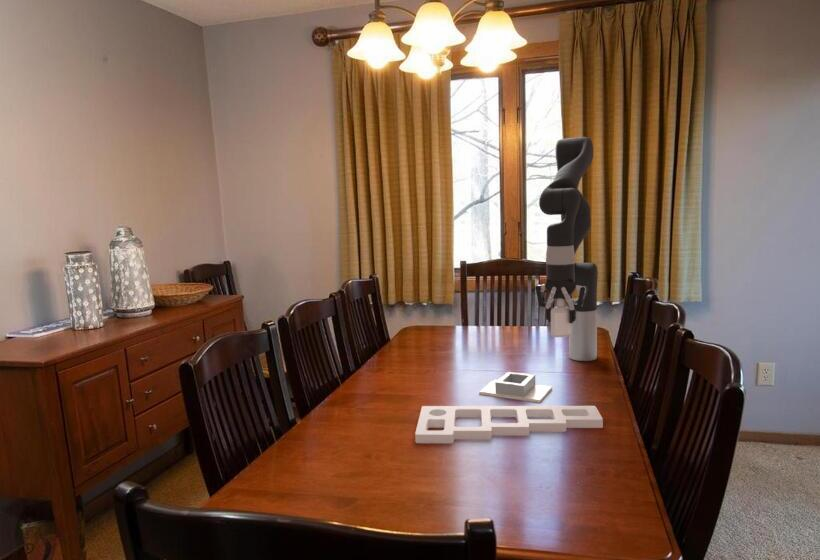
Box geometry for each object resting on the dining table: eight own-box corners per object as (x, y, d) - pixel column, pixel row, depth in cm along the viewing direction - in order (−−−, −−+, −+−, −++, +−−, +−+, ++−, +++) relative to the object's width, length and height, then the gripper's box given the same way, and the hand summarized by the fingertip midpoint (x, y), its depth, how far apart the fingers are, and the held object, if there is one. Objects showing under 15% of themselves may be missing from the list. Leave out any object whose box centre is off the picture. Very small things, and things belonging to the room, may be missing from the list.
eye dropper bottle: (571, 338, 150) (571, 295, 149) (550, 337, 152) (549, 294, 150) (572, 334, 154) (571, 292, 153) (551, 333, 156) (551, 292, 155)
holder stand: (494, 381, 170) (494, 369, 170) (552, 389, 161) (551, 376, 160) (479, 394, 160) (478, 380, 159) (539, 402, 151) (539, 388, 150)
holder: (595, 415, 142) (595, 405, 141) (612, 446, 124) (612, 435, 124) (422, 415, 147) (422, 406, 147) (415, 445, 130) (414, 434, 129)
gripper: (590, 260, 150) (590, 320, 153) (538, 260, 157) (539, 317, 160) (584, 263, 144) (584, 326, 146) (530, 263, 151) (531, 323, 153)
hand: (560, 321), depth 153 cm, fingers closed on eye dropper bottle, 5 cm apart
